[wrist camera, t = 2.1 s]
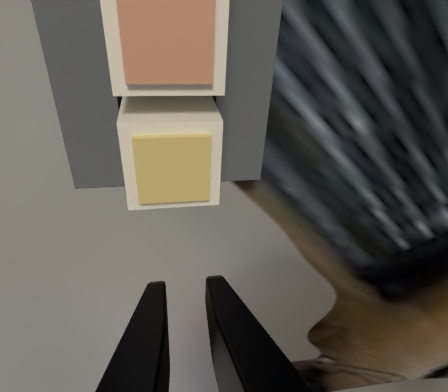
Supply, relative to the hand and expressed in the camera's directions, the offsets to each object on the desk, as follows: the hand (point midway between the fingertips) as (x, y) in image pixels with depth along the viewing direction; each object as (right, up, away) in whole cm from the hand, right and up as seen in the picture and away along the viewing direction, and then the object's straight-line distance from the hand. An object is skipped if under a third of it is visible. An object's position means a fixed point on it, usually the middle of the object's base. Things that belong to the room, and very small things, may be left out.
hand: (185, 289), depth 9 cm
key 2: (-1, +9, +5) cm, 11 cm away
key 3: (-2, +5, +8) cm, 10 cm away
